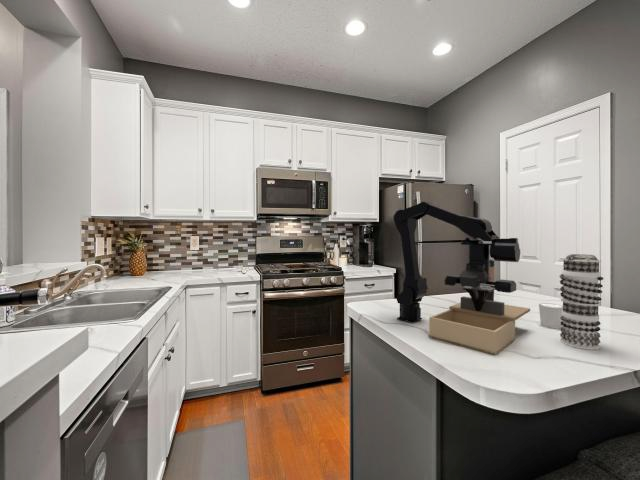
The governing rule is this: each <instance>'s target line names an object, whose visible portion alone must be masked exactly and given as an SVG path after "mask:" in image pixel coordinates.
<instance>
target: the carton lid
mask: <svg viewBox="0 0 640 480" xmlns="http://www.w3.org/2000/svg"><path fill="white" fill-rule="evenodd" d="M450 309H452V310H457V311H462V312H468V313H473V314H478V315H484V316H489V317H494V318H500V319H505V320H510V321H515V322H516V321H517V320H519V319H520V318H521V317H523V316H524V315H526V314H528V313H530V312H531V308H529V307H525V306H524V307H523V306H517V305H510V304H505V302H503V301H497V300H496V301H495V300H494V301H490V300H485V302H484V304H483V306H482V308H481V310H480V311H476V309H475V306H474V304H473V301H472V298H471V296H470V297H469V296H461V297H460V302H458V303H456V304H452V305H450V306H449V308H448V310H450Z"/></svg>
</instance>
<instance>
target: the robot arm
mask: <svg viewBox="0 0 640 480" xmlns="http://www.w3.org/2000/svg"><path fill="white" fill-rule="evenodd" d="M427 215H428V216H430V217H432V218H434V219H437V220H439V221H442V222H445V223H447V224H450V225H452V226H454V227H456V228H457V229H458V230H460V231H461V232H462V233H464V234H466V235H467V236H468V237H466V238H465V239H464V240H462V241H461V242H460V244H461V246H468V247H467V249H468V255H467V257H468V258H467V259H468V260H467V261H468V263H466V265H465V270H463V271H462V272H461V273H460V274H449V275H446V276H445V278H444V285H445V286H452V287H453V286H456V285H457V284H460V286H461V287H462V290H464V291H466V292H467V293H468V295H469V296H470V298H472V301H473V304H474V306H475V309H476V311H480V310H481V308H482V306H483V304H484V302H485V300H486V298H487V296H488V295H489V293H490V292H492V291H494V292H495V291H497V292H500V293H507V294H509V293H514V292H516V291H517V282H515V280H511V279H510V280H508V279H498V280H494V281H489V280H491V277H489V267H491V263H489V260H490V258H491V259H493V261H494V262H510V263H512V262H513V263H519V262H520V259H521V249H520V243H519V239H518V237H510V238H500V237H499V236H498V235H497V234H496V233H495V231H494V230H493V226H492V223H491V222H490V221H489V220H487V219H485V218H479V217H473V216H467V215H463V214H460V213H459V212H458V213H457V212H454V211H452V210H450V209H447V208H444V207H441V206H439V205H436V204H434V203H432V202H429V201H421V202H419V203H417V204H415V205H412V206H409V207H406V208H404V209H399V210H397V211H395V213H394V214H393V223H394V226H395V228H396V230H397V232H398V234H399V235H400V240H401V241H400V243H401V248H402V255H403V256H402V257H403V266H404V273H405V274H404V275H405V276H404V278H403V282H402V292H400V293H399V295H397V296H396V303H397V304H399V316H398V317H397V318H396V320H400V321H404V322H408V323H416V322H419V321H422V320H423V317H422V309H421V306H420V305H421V304H420V302H422V300H423V298H424V297H425V296H426V295H427V291H428V290H429V288H428V284H427V280H428V279H427V277H423V276H422V275H421V273H420V268H419V260H418V253H417V246H416V237H415V232H416V229H417V227H418V223H417V222H418V221H419V220H421V219H423V218H424V217H425V216H427ZM473 238H475V239H473ZM477 238H478V239H477ZM484 242H485V243H484ZM487 242H488V243H487ZM489 242H491V243H489ZM478 286H480V287H481V289H480V287H478ZM493 288H494V289H493Z"/></svg>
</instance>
